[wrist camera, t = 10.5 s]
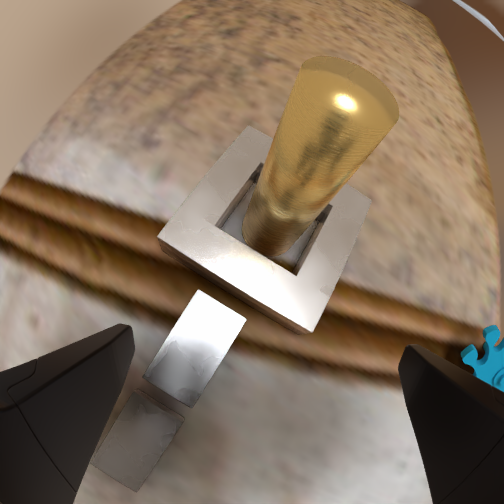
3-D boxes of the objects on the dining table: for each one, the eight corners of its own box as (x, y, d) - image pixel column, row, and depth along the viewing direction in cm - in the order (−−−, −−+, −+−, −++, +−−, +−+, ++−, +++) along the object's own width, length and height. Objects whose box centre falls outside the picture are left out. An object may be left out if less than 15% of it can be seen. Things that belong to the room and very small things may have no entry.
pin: (267, 267, 19) (366, 146, 7) (230, 226, 20) (276, 69, 8) (305, 234, 20) (413, 110, 9) (269, 196, 21) (340, 49, 9)
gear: (435, 367, 17) (544, 298, 13) (426, 331, 22) (515, 274, 18) (465, 447, 17) (555, 394, 12) (458, 408, 22) (535, 362, 18)
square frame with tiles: (187, 508, 13) (187, 526, 11) (54, 424, 13) (37, 432, 11) (393, 119, 27) (404, 105, 24) (311, 69, 27) (318, 53, 25)
